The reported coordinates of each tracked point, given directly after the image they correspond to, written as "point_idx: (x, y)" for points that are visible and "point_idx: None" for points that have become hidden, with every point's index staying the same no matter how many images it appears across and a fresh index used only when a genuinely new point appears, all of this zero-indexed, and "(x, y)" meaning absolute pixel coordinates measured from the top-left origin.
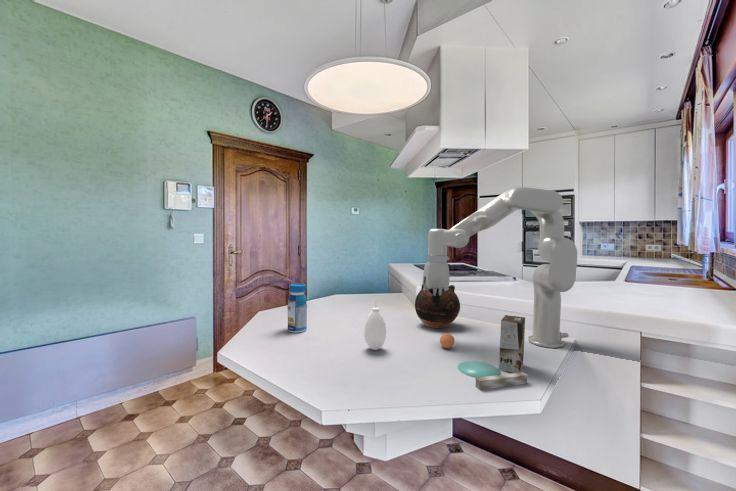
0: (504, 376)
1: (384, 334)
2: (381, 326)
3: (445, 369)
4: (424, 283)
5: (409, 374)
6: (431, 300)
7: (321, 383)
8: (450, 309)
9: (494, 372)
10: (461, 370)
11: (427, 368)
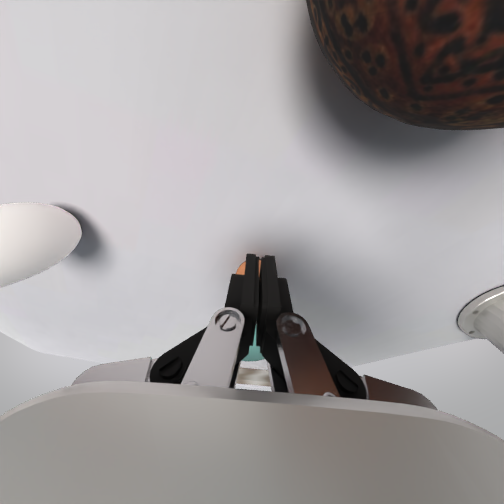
0: (245, 382)
1: (55, 263)
2: (15, 282)
3: (197, 330)
4: (5, 457)
5: (136, 327)
6: (230, 281)
7: (6, 313)
8: (477, 128)
9: (259, 355)
10: None
11: (170, 321)
